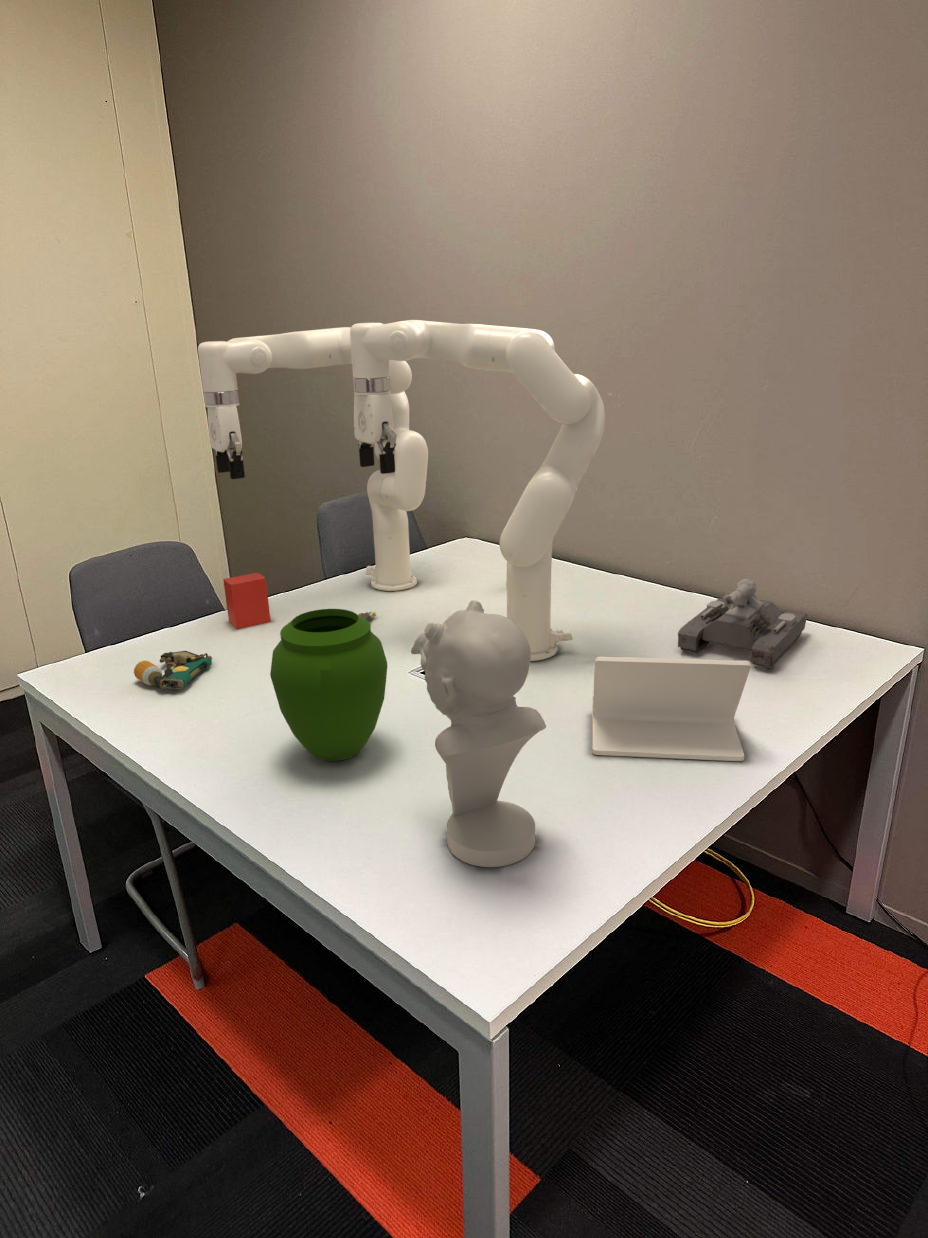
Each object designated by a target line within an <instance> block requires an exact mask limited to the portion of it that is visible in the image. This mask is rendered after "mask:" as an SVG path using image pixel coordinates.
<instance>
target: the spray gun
mask: <svg viewBox="0 0 928 1238" xmlns="http://www.w3.org/2000/svg"><path fill="white" fill-rule="evenodd" d="M212 660H213V657H212V656H211V655H208V653H207V652H205V653H201V654H197V653H194V652H192V651H191V652H190V651H188V650H180V651H169V652H164V653H162V654H161V655H160V658H159V660H158V662H159V663H161V664H163V663H165V664H166V668H165V670H163V672H164V674H163V673H162V669H160V668H159V666H157V665H156V664H154V663H152V662H151V661H149V660H141V661H139V662H138V663H136V665H135V666H134V668H133V675H134V677H135V678H136V679H137V680H139V681H140V682H142V683H143V684H145V685H147V686H155V685H157V686H158V687H160V688H161V689H171V690H172V689H173V690H182V689H184V687H185V686H186V685H188V684H189V683H190V682H191V681H192V679H193V678H195V677H196V676H197V675H198V674H200V673H201V672H202V671H203V670H206V669H208V668H209V667H210V666H211V665H212V662H213V661H212ZM178 663H179V664H181V665H179V666H176V665H177V664H178Z"/></svg>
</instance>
